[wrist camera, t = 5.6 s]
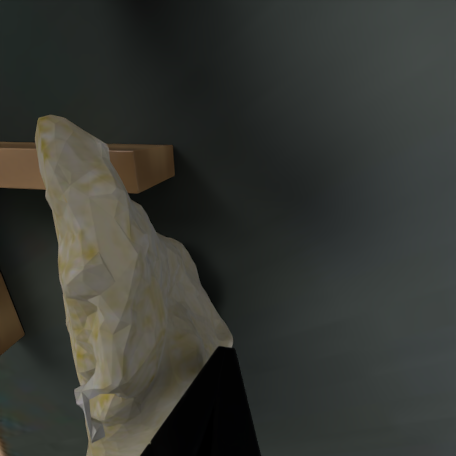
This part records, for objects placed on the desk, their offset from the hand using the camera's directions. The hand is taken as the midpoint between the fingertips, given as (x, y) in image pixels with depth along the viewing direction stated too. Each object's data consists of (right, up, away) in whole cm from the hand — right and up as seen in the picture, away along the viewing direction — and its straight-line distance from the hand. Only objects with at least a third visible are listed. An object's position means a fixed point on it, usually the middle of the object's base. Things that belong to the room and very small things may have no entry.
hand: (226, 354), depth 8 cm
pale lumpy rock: (-4, +1, +6) cm, 8 cm away
